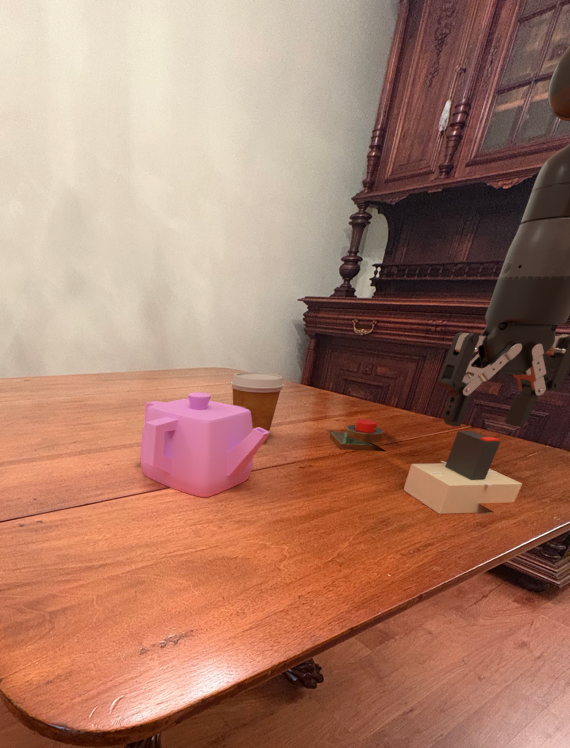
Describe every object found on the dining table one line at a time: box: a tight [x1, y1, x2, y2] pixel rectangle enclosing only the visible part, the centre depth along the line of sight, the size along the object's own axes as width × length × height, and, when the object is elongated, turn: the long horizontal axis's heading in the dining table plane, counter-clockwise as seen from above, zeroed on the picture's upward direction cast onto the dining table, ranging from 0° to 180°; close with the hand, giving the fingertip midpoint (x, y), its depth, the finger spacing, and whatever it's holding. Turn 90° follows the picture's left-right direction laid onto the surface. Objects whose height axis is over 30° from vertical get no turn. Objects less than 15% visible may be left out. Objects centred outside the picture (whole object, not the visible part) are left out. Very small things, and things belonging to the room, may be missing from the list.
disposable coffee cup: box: [230, 371, 285, 446], centre depth 79 cm, size 10×10×12 cm
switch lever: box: [445, 430, 501, 480], centre depth 56 cm, size 5×2×5 cm, turn 6°
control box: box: [403, 460, 523, 515], centre depth 58 cm, size 10×9×4 cm
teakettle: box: [139, 391, 271, 498], centre depth 62 cm, size 17×17×12 cm
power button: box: [354, 418, 378, 432], centre depth 80 cm, size 4×4×2 cm
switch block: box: [329, 424, 387, 452], centre depth 81 cm, size 10×8×3 cm
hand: (482, 424), depth 54 cm, fingers open, 8 cm apart
